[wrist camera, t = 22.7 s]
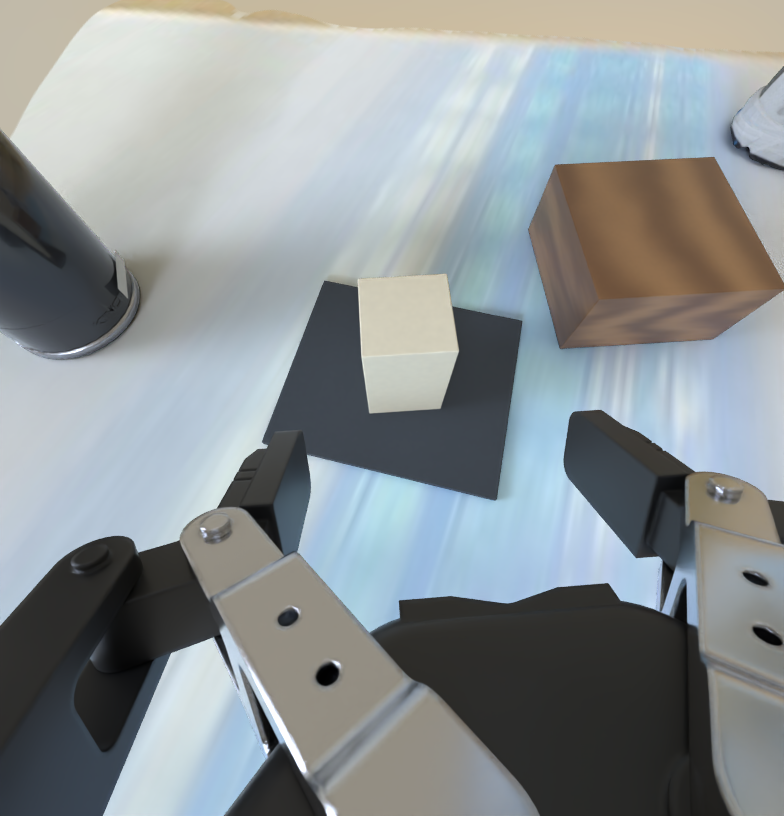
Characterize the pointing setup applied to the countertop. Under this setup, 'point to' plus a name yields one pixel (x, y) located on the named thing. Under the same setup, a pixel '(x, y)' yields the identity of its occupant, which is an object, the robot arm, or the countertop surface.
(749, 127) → the athletic shoe
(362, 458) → the rubber mat
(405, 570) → the countertop surface
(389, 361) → the cream box
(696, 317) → the brown box
